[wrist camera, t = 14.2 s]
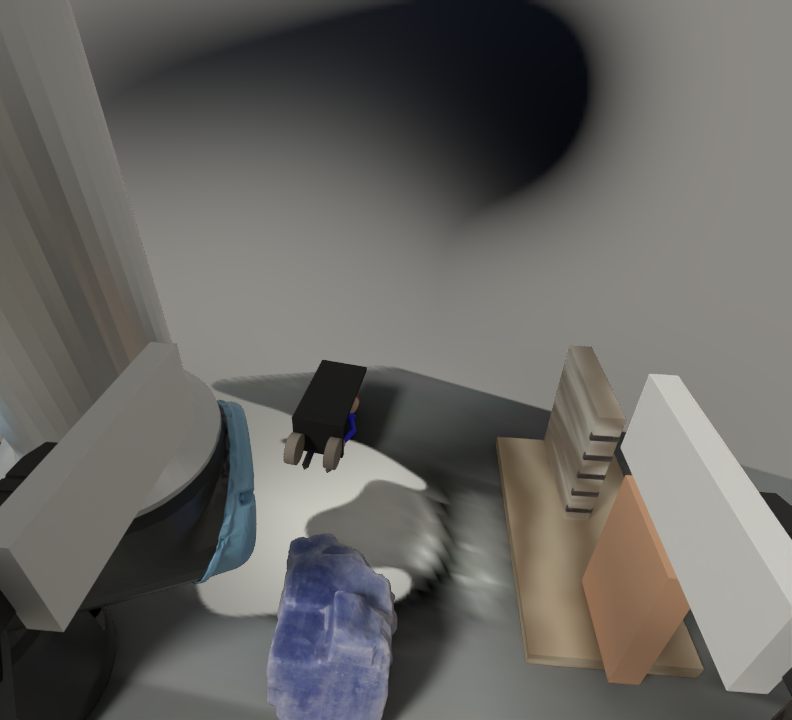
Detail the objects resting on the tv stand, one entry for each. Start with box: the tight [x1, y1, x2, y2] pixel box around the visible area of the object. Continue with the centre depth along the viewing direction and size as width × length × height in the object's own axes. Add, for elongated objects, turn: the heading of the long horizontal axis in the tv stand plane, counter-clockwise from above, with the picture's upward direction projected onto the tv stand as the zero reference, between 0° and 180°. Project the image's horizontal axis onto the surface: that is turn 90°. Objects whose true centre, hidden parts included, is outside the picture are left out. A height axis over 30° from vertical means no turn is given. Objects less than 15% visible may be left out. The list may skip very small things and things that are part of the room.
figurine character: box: [284, 360, 367, 473], centre depth 61 cm, size 7×8×15 cm
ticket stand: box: [496, 346, 704, 678], centre depth 48 cm, size 14×26×16 cm, turn 176°
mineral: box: [267, 534, 397, 720], centre depth 40 cm, size 15×10×10 cm
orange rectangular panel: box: [582, 475, 690, 685], centre depth 38 cm, size 2×9×14 cm, turn 176°
